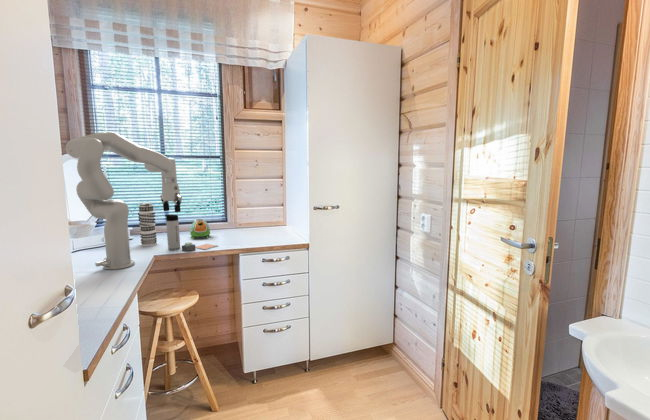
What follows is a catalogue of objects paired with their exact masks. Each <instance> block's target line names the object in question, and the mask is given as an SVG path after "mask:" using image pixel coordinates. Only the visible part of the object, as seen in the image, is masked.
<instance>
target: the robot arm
mask: <svg viewBox="0 0 650 420" xmlns="http://www.w3.org/2000/svg"><path fill="white" fill-rule="evenodd" d="M65 151H66V154H67V155H68V156H70V157H72V158H73V159H77V165H76V170H77V173H78V175H79V177H80V179H81V180H80V181H79V182H78V183H77V185H76V194H77V197H78V198H79V200H80V201H81V203H82V204H83V205H84V207H85V209H86V210H87V211H88V212H89V214H90V215H91V216H92V217H94V218H96V219H98V220H105V224H104V226H103V227H104V228H103V234H104V242H105V243H104V246H105V254H106V257H105V258H104V259H103V260H102V261H97V262H95V264H94V265H95V267H96V268H98V267H101V266H102V267H103V269H104V270H108V271H109V270H111V271H112V270H121V269H122V270H123V269H125V268H130V267H132V266H134V265H135V264H136V262H135V260H133V259H131V252H130V251H131V249H130V239H129V236H130V235H129V227H128V221H129V219H128V218H129V209H130V208H129V206H128V204H127V203H126V202H125V201H123V200H121V199H117V198H116V199H114V198H113V197H114V193H115V191H114V187H113V186H112V185H111V183H110V181H109V179H108V177H107V176H106V175H105V174H106V173H104V171H103V169H102V167H101V160H102V157H103V154H104V152H107V151H109V152H111V153H113V154H116V155H118V156H120V157H122V158H124V159H125V160H128V161H130V162H135V163H139V164H140V163H141V164H144V168H145V170H147V172H150V173H161V174H160V175H161V183H162V184H161V195H160V196H159V198H160V200H161V202H162V203H161V204H162V208H163V212H168V211H170V205H169V202H173V203H174V212H175V213H181V203H182V200H183V196H181V191H180V187H179V183H178V179H177V178H178V177H177V167H176V159H175V158H173V157H167V156H165V155H164V154H162V153H160V152H158V151H156V150H153V149H150V148H147V147H144V146H141V145H139V144H137V143H135V142H133V141H131V140H130V139H128V138H126V137H125V136H122V135H121V134H119V133H116V132H113V131H102V132H96V133H91V134H87V135H83V136H79V137H76V138H73V139H70V140H68V141H67V143H66V145H65ZM112 198H113V199H112Z"/></svg>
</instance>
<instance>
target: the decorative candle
mask: <svg viewBox="0 0 650 420" xmlns="http://www.w3.org/2000/svg"><path fill="white" fill-rule="evenodd" d="M154 206H155V205H153V204H152V203H151V202H142V203H140V204H139V205H138V213H137V216H138V221H139V223H138V224H139V227H140V238H141V239H140V241H141V242H140V244H141V245H140V246H141V247H153V246H156V245H158V243H157V242H158V239H157V232H156V227H155V226H156V218H155V217H156V212H155V209H154Z"/></svg>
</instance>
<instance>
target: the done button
mask: <svg viewBox="0 0 650 420" xmlns="http://www.w3.org/2000/svg"><path fill="white" fill-rule="evenodd" d="M192 244H193V243H192V242H189V241H188V242H185V243H184V245H185V246H192Z"/></svg>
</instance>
